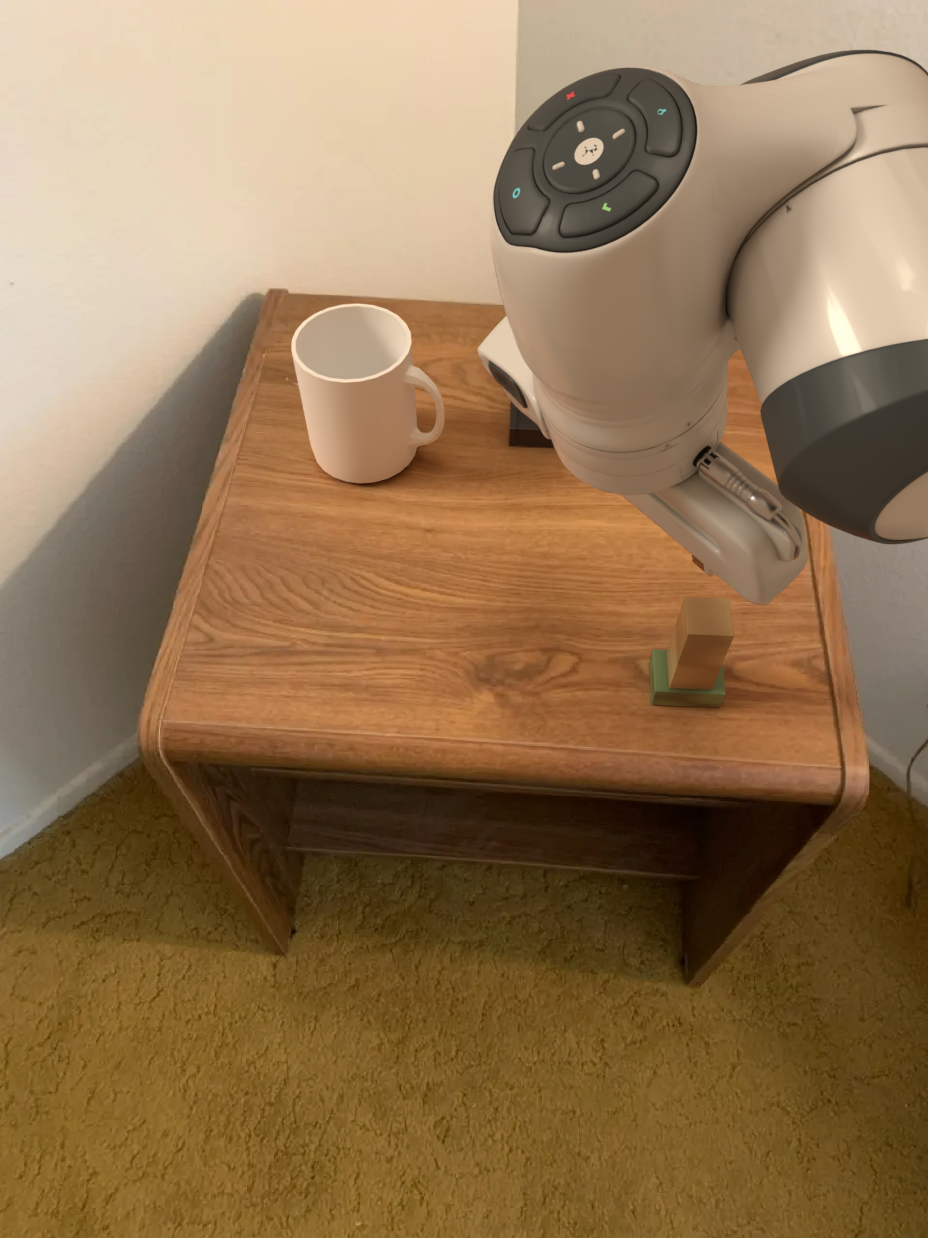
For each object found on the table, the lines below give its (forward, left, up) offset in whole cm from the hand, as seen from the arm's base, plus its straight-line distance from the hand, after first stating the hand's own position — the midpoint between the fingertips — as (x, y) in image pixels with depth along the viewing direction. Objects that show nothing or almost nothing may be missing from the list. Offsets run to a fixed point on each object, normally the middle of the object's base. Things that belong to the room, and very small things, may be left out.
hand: (654, 513), depth 58 cm
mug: (+21, -20, -15) cm, 32 cm away
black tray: (+2, -29, -15) cm, 33 cm away
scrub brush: (-4, +3, -15) cm, 16 cm away
